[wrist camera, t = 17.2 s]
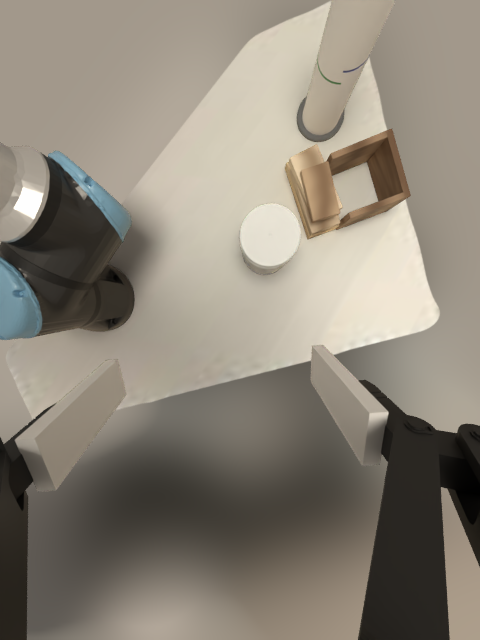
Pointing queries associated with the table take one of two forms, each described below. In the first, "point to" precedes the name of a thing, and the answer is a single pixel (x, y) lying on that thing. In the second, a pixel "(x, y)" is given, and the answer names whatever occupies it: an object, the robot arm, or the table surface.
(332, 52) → the cylindrical container
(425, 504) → the robot arm
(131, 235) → the table surface
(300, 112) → the rubber mat
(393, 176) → the offcut rack
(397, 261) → the table surface
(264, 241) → the supplement tub
